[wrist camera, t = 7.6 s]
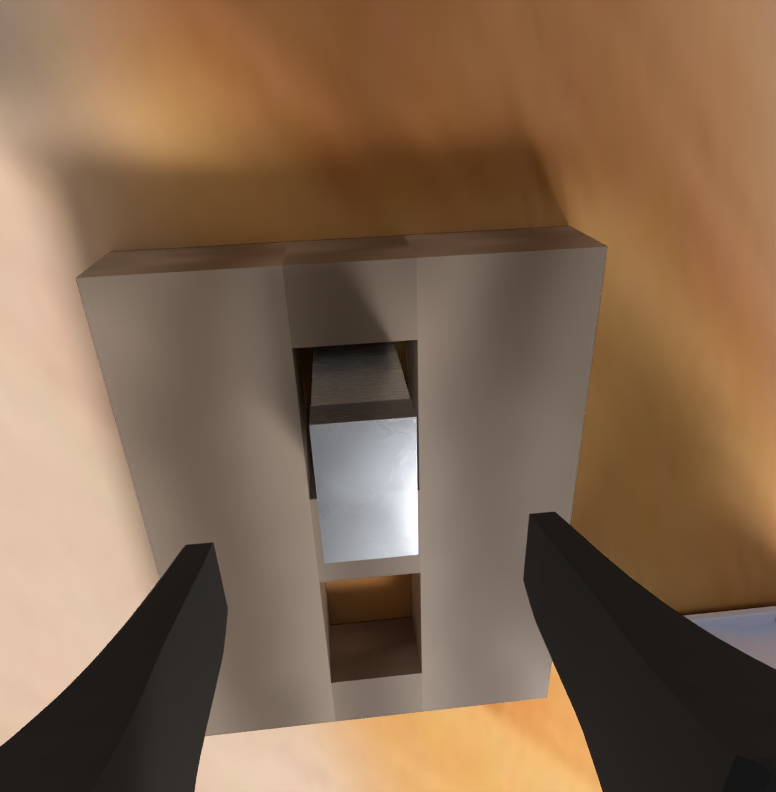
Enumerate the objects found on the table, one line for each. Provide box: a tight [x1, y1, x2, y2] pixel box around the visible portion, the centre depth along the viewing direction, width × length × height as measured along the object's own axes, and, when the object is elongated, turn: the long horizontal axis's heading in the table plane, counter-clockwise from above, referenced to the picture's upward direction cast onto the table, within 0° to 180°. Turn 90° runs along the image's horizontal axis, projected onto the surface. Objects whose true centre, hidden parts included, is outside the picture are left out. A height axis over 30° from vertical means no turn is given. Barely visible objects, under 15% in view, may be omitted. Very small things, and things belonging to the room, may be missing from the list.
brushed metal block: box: [309, 341, 418, 563], centre depth 19 cm, size 3×4×7 cm, turn 2°
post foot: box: [76, 226, 607, 736], centre depth 23 cm, size 15×20×3 cm
